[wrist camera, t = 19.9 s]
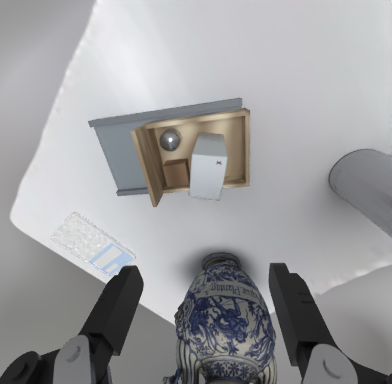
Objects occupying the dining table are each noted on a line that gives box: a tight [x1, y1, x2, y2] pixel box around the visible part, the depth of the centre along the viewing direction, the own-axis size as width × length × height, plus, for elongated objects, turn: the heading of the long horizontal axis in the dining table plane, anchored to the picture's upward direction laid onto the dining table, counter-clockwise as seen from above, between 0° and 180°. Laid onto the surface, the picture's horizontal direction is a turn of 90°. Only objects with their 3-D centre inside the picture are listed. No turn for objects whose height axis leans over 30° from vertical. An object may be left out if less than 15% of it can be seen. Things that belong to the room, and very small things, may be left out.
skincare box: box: [189, 132, 228, 201], centre depth 27 cm, size 6×4×12 cm
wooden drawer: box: [130, 108, 250, 207], centre depth 29 cm, size 16×12×9 cm
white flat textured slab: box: [51, 212, 136, 276], centre depth 49 cm, size 13×20×2 cm, turn 43°
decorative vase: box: [162, 253, 277, 384], centre depth 37 cm, size 21×19×28 cm
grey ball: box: [159, 128, 182, 152], centre depth 30 cm, size 3×3×3 cm
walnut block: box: [163, 158, 190, 187], centre depth 33 cm, size 4×4×3 cm
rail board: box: [88, 98, 242, 196], centre depth 34 cm, size 26×15×2 cm, turn 98°
